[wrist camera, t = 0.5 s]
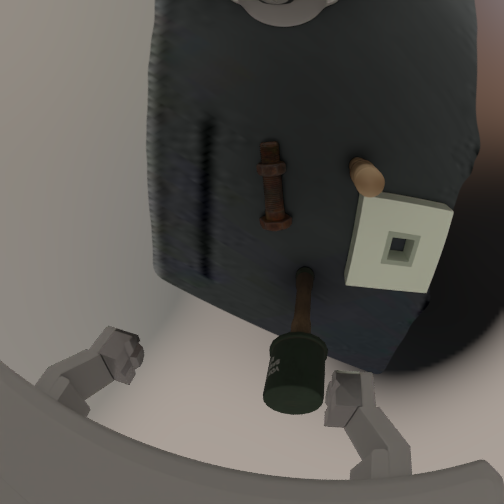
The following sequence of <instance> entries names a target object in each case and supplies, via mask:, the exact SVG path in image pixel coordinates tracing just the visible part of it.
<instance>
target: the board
mask: <svg viewBox="0 0 504 504" xmlns="http://www.w3.org/2000/svg"><path fill="white" fill-rule="evenodd" d="M453 213H454V212H453V211H452V210H451V209H450V208H449V207H448V206H447V205H446V204H443V203H438V202H433V201H429V200H424V199H419V198H413V197H408V196H402V195H397V194H391V193H385V192H381V193H380V194H379V195H377V196H375V197H365V196H363V195H361V194H359V200H358V206H357V212H356V218H355V223H354V229H353V234H352V239H351V244H350V249H349V254H348V258H347V263H346V267H345V272H344V277H345V284H346V285H350V286H359V287H369V288H379V289H389V290H399V291H410V292H420V293H426V292H427V290H428V287H429V285H430V282H431V280H432V277H433V274H434V272H435V269H436V266H437V264H438V261H439V258H440V255H441V252H442V249H443V246H444V243H445V240H446V237H447V234H448V230H449V227H450V224H451V220H452V216H453ZM393 237H396V238H403V239H406V242H405V246H404V249H403V251H396V250H389V249H390V246H391V242H392V238H393Z"/></svg>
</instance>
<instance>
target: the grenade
mask: <svg viewBox="0 0 504 504" xmlns="http://www.w3.org/2000/svg"><path fill="white" fill-rule="evenodd" d="M313 280H314V273H313V271H312V270H311V269H310V268H307V267H303V268H300V269H299V270H298V271H297V273H296V288H297V295H296V304H295V313H294V319H293V321H292V325H291V332H289V333H286V334H283V335H280V336H279V337H277V338H276V339H275V340H273V342H272V344H271V346H270V357H271V358H270V362H269V367H268V372H267V377H266V382H265V388H264V392H263V400H264V402H265V403H266V405H267V406H268V407H270V408H272V409H273V410H275V411H278V412H281V413H285V414H293V415H294V414H305V413H310V412H313V411H315V410H317V409H318V408H319V407H320V406H321V405H322V403H323V399H324V377H325V360H326V359H327V353H328V349H327V347H326V344H325V343H324V342H323V341H322V340H321V339H320V338H319V337H317V336H315V335H313V334H310V333H311V322H310V304H311V290H312V287H313Z"/></svg>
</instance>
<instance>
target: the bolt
mask: <svg viewBox="0 0 504 504" xmlns="http://www.w3.org/2000/svg"><path fill="white" fill-rule="evenodd" d="M278 145H279V144H278V143H277V142H276V141H274V142H264V143H261V144H260V147H261V148H260V149H261V150H260V151H261V152H260V153H261V155H262V156H261V157H262V158H261V159H262V160H261V161H262V162H261V163H258V165H257V172H258V174H259V175H261V176H263V178H264V179H263V180H264V181H263V182H264V183H263V184H264V193H265V194H264V195H265V206H266V209H265V213H266V215H265V216H263V217H261V218H260V225H261V226H262V228H263V229H266V230H270V231H278V230H283V229H287V228H288V227H289V226H290V225H291V224H292V217H290V216H289V215H287V214H286V213H285V210H284V203H283V192H282V191H283V190H282V179H281V174H284V173H285V171H286V164H285V163H284V162H283V161H280V157H279V150H278V149H279V148H278V147H279V146H278Z"/></svg>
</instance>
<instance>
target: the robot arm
mask: <svg viewBox="0 0 504 504" xmlns="http://www.w3.org/2000/svg"><path fill="white" fill-rule="evenodd" d="M231 1H233V2H235V3H237V4H240V5H241V6H242V7H243V8H244V9H245V10H246V11H247V12H248V13H249V14H250V15H251V16H252V17H253V18H255V19H256V20H258V21H260V22H262V23H265V24H268V25H272V26H279V27H289V26H296V25H300V24H303V23H305V22H308V21H310V20H311V19H313V18H314V17H316V16H317V15H318V14H319V13H320V12H321V11H322V9H324V8H325V7H326V6H329V5H331V4H334V3H336V2H337V1H338V0H231ZM139 341H140V339H139V337H138V335H136V334H133V333H130V332H126V331H123V330H120V329H117V328H114V327H111V326H108V327H106V328H105V329H104V331H103V332H102V333H101V334H100V336H99V337H98V338H97V340H96V341H95V342H94V344H93V345H92V346H91V348H90V349H89V350H87V349H86V350H84V351H81V352H79V353H77V354H75V355H73V356H71V357H69V358H67V359H65V360H62V361H60V362H58V363H56V364H54V365H52V366H50V367H48V368H47V370H46V371H45V372H44V374H43V375H42V376H41V378H40V379H39V381H38V382H37V383H36V385H35V386H34V385H32V384H31V383H29V382H28V381H26V380H25V379H24V378H22V377H21V376H20V375H18V374H17V373H15V372H14V371H13V370H11V369H10V368H9V367H8V366H6V365H5V364H4V363H3V362H2V361H0V504H504V483H503V479H502V477H501V476H500V474H499V473H498V472H497V471H496V470H495V469H494V468H493V467H492V466H491V465H490V464H489V463H488V462H487V461H485V460H477V461H474V462H470V463H467V464H463V465H459V466H455V467H451V468H446V469H442V470H437V471H432V472H427V473H421V474H414V475H412V469H411V468H412V467H411V451H410V446H409V444H408V443H407V442H406V440H405V439H404V438H403V437H402V435H401V434H400V433H399V432H398V430H397V429H396V428H395V427H394V425H393V424H392V423H391V422H390V420H389V419H388V418H387V416H386V415H385V414H384V413H383V412H382V410H381V409H380V408H379V407H376V402H375V392H374V382H373V374H372V373H371V372H358V371H339V370H336V371H334V372H333V375H332V381H330V382H329V385H328V388H327V391H326V401H325V403H326V405H327V406H328V407H327V409H326V411H325V421H324V426H328V427H342V428H344V429H345V431H346V433H347V435H348V436H349V438H350V440H351V441H352V443H353V445H354V447H355V449H356V450H357V452H358V454H359V456H360V457H361V459H362V461H361V462H360V463H359V464H357V465H356V466H355V467H354V468H353V469H352V470H351V472H350V480H318V479H301V478H290V477H280V476H271V475H264V474H258V473H252V472H246V471H240V470H235V469H230V468H225V467H221V466H217V465H212V464H208V463H204V462H200V461H197V460H193V459H190V458H186V457H182V456H180V455H176V454H173V453H170V452H167V451H164V450H161V449H158V448H156V447H153V446H150V445H147V444H145V443H142V442H140V441H137V440H134V439H132V438H130V437H127V436H125V435H122V434H120V433H118V432H116V431H113V430H111V429H109V428H107V427H105V426H103V425H101V424H99V423H97V422H95V421H93V420H91V419H89V418H87V415H88V413H89V411H90V408H89V406H88V405H87V403H86V402H85V401H84V400H86V399H87V398H89V397H90V396H92V395H93V394H95V393H96V392H98V391H99V390H101V389H102V388H104V387H105V386H107V385H108V384H110V383H111V382H113V381H114V380H116V381H119V382H122V383H125V384H128V385H130V383H131V381H132V379H133V378H134V376H135V369H136V368H138V367H140V366H141V364H142V362H143V358H144V350H143V347H142V346H141V345H140V344H139Z"/></svg>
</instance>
